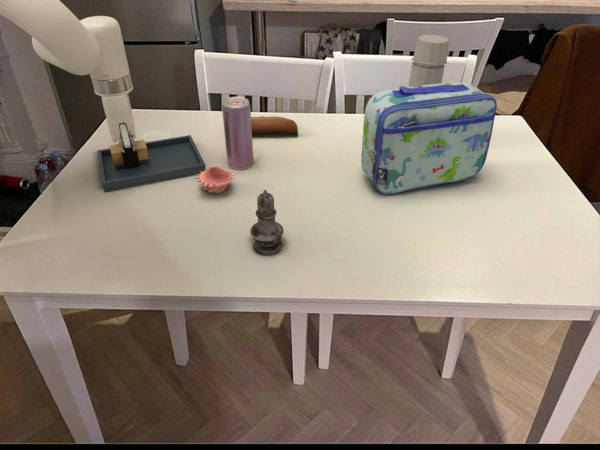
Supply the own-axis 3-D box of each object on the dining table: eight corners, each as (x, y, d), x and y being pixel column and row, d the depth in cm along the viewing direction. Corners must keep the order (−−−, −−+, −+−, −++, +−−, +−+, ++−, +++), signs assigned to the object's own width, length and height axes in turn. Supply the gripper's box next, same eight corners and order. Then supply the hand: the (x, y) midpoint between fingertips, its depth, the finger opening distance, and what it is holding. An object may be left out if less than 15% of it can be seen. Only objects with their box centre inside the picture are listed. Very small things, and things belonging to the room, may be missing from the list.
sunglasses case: (296, 121, 124) (296, 106, 118) (297, 144, 121) (298, 129, 115) (228, 122, 123) (225, 107, 117) (228, 145, 120) (225, 131, 114)
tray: (104, 192, 97) (101, 183, 95) (99, 158, 108) (97, 150, 107) (206, 172, 103) (205, 164, 102) (191, 142, 115) (190, 134, 113)
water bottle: (429, 151, 112) (450, 45, 97) (396, 146, 114) (412, 41, 99) (432, 135, 119) (453, 33, 104) (401, 131, 121) (417, 30, 106)
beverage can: (250, 171, 104) (246, 108, 95) (224, 169, 104) (217, 106, 95) (256, 158, 108) (252, 97, 99) (231, 156, 109) (226, 95, 100)
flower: (243, 189, 98) (241, 166, 94) (215, 206, 93) (212, 182, 90) (217, 177, 102) (215, 154, 98) (189, 192, 97) (185, 169, 94)
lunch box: (370, 201, 95) (382, 103, 82) (353, 174, 103) (361, 82, 90) (484, 185, 100) (511, 91, 87) (458, 161, 108) (481, 72, 96)
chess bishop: (290, 242, 84) (289, 186, 77) (272, 260, 80) (270, 203, 73) (263, 232, 86) (260, 176, 79) (244, 249, 82) (239, 193, 75)
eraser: (115, 169, 103) (111, 153, 100) (113, 160, 106) (109, 145, 104) (150, 163, 105) (146, 147, 103) (147, 155, 108) (144, 139, 106)
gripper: (90, 72, 99) (111, 148, 110) (95, 100, 87) (117, 183, 98) (127, 67, 102) (143, 143, 113) (136, 95, 89) (153, 176, 100)
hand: (131, 161), depth 105 cm, fingers closed on eraser, 4 cm apart
